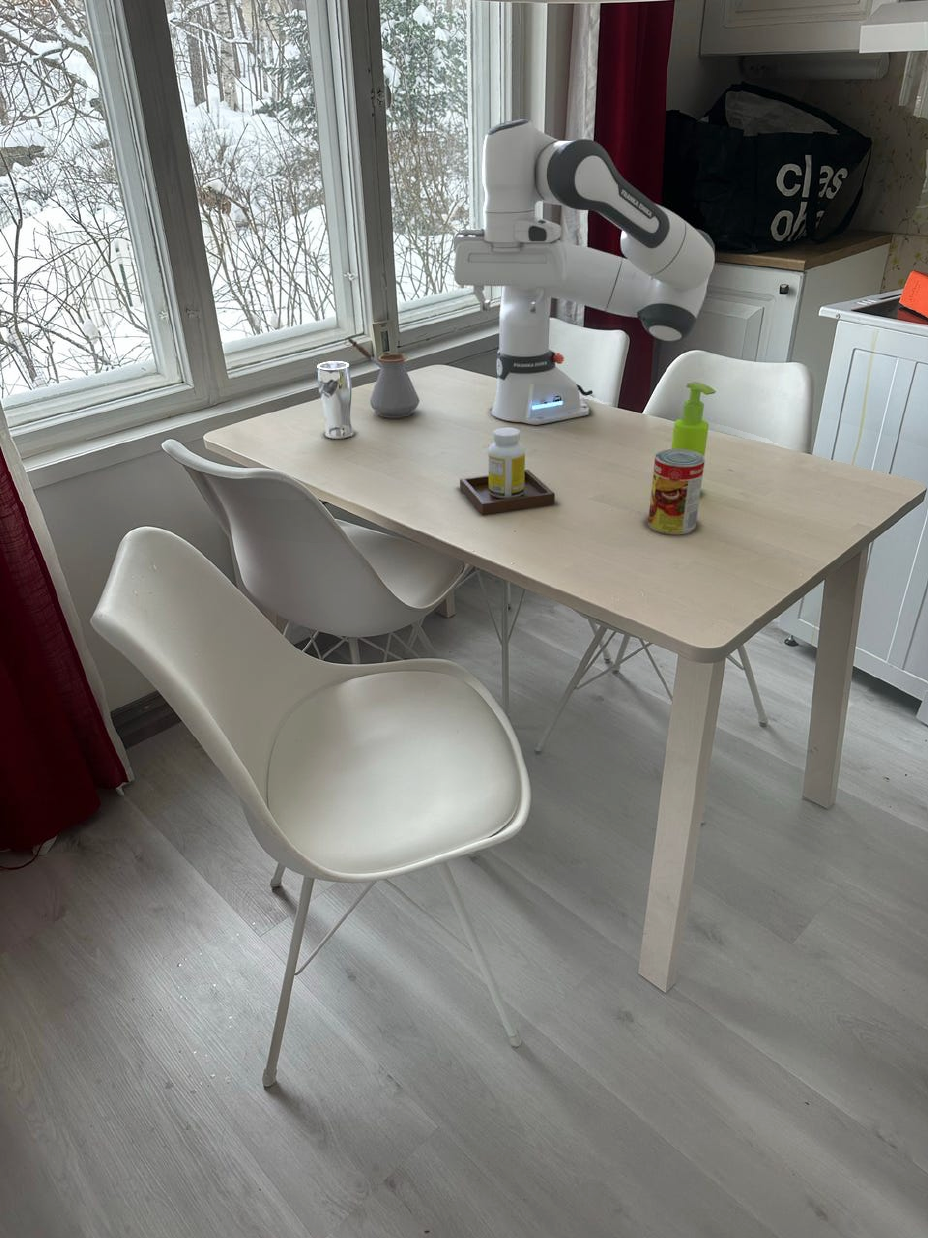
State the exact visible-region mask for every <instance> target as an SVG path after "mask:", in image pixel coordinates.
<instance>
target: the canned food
mask: <svg viewBox="0 0 928 1238" xmlns="http://www.w3.org/2000/svg"><path fill="white" fill-rule="evenodd" d="M705 461H706V457H705V456H703V455H701V454H700V453H697V452H695V451H691V450H685V449H671V448H670V449H669V448H668V449H663V450H660V451H658V452H656V454H654V464H653V471H652V483H651V492H650V502H649V510H648V511H649V512H648V520H647V524H648V527H650V529H652V530H653V531H656V532H659V533H662V534H667V535H685V534H690V533H691V532H693V531H695V529H696V526H697V519H698V511H699V504H700V499H701V489H702V483H703V475H704V469H705Z"/></svg>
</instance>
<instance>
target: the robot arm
mask: <svg viewBox="0 0 928 1238" xmlns="http://www.w3.org/2000/svg"><path fill="white" fill-rule="evenodd" d="M482 153H483V154H482V185H483V188H484V189H483V190H484V193H485V199H484V203H483V204H484V205H483V228H474V229H469V228H462V229H460V231H458V232H457V233H455V234H454V236H453V241H452V242H453V243H452V245H453V251H454V253H455V255H454V265H453V266H454V267H453V281H454V282H455V283H456V284H457V285H458V286H464V287H465V286H468V287H469V286H471V287H472V288H473V294H474V296H475V297H476V299H477V301H478V303H479V311H480V313H489V312H490V311H491V300H487V299H486V297H485V294H484V292H483V291H485V287H501V295H500V306H499V307H500V308H499V318H498V319H499V322H498V323H499V328H498V329H499V335H498V336H499V337H498V339H499V341H498V350H497V356H496V376H497V385H496V392H495V397H494V398H495V399H494V402H493V405H492V408H491V414H492V416H494V417H495V418H497V419H500V420H503V421H508V422H514V423H525V424H528V425H535V426H537V425H543V424H548V423H554V422H559V421H563V420H568V419H573V418H578V417H584V416H587V415H589V414H590V407H589V406H588V405H587V404H586V403H585V402H584V401H583V400H581V398H580V397H581V396H580V394H581V395H582V396H584V397H585V396H586V397H587V396H589V395H592V394H593V390H588V391H585V390H584V389H583V387H582V386H581V385H579V384H577V383H576V381H574V380H573V379H571V378H570V376H568V375H567V374H566V373H565V372H563V371H562V370H561V369H560V368H558V367H557V366H556V364H558V365H561V364H563V362H564V360H565V356H564V355H563V354H561V353H559V352H557V353H556V352H554V351H553V350H550V349H549V347H550V323H551V321H550V320H551V305H552V299H558V300H564V301H567V302H573V303H576V304H580V305H583V306H586V307H589V308H592V309H596V310H599V311H603V312H606V313H609V314H614V315H618V316H623V317H629V318H635V319H636V318H638V320H639V321H640V322H641V325H642V327H643V328H644V330H645V331H646V332H647V333H648V334H649V335H650V336H651V337H653V338H655V339H658V340H660V341H664V342H680V341H683V340H684V339H687V338H688V337H689V336H690V335H691V333H692V331H693V330H694V327H695V325H696V324H697V317H698V316H699V313H700V311H701V308H702V306H703V303H704V301H705V297H706V294H707V287H708V284H709V279H710V276H711V274H712V272H713V270H714V266H715V259H716V257H715V256H716V255H715V254H716V249H715V248H716V245H715V243H714V241H713V239H712V237H710V235H709V234H708V233H706V232H705V231H703V230H701V229H697V228H695V227H694V226H692V225H691V224H690V223H689V222H687V221H686V220H684V219H683V218H682V217H681V216H680V215H678V214H676V213H675V212H674V211H671V210H670V209H668V208H666V207H664V206H662V205H660V204H657V203H655V202H653V201H652V200H651V199H649V198H648V197H647V195H645V194H643V193H642V192H641V191H639V190H638V189H637V188H636V187H634V185H632V184H631V183H629V181H628V180H626V179H625V178H624V177H623V176H622V175H621V174H620V173H619V171H618V170H617V168H616V166H615V165H614V162H613V161H612V159H611V157H610V155H609V153H608V151H606V149H605V148H604V147H603V146H602V145H601V144H600V143H598V142H596V141H595V140H592V139H587V138H580V139H574V140H559V139H557V138H555V137H552V136H550V135H548V134H546V133H544V132H543V131H541V130H539V129H538V128H537V127H535V126H534V124H533V123H532V122H531V121H530V120H529V119H515V120H509V121H505V122H502V123H499V124H498V123H497V124H496V125H494V126H492V127H491V128H489V130H488V131H487V133H486V134H485V139H484V143H483V151H482ZM538 202H542V203H545V204H549V205H554V206H555V205H557V206H562V207H568V208H571V209H573V210H579V211H594V212H596V213H597V214H599V215H601V216H602V217H603V218H604V219H606V220H607V221H609V222H610V223H611V224H613V225H614V226H615V227H617V228H618V229H620V230H621V234H620V235H621V236H620V250H621V253H622V254H623V255H624V257H622V256H618V255H615V254H612V253H609V252H605V251H603V250H599V249H595V248H593V247H588V246H583V245H578V244H572V243H567V242H562V241H561V240H560V238H561V236H562V232H563V231H562V230H563V229H562V226H561V225H560V224H558V223H556V222H552V221H550V220H547V219H544V218H542V217H538V216H536V204H537V203H538Z"/></svg>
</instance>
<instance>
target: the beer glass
mask: <svg viewBox="0 0 928 1238" xmlns="http://www.w3.org/2000/svg"><path fill="white" fill-rule="evenodd" d="M316 367H317V386H318V393H319V397H320V402H321V405H322V409H323V413H324V417H325V418H324V419H325V431H324V435H325V437H326V438H329V439H333V440H342V439H348V438H350V437H352V436H353V435H354V430H353V426H352V422H351V405H352V395H353V394H352V393H353V391H352V390H353V389H352V388H353V387H352V378H351V377H352V376H351V372H350V364H349V363H348V362H345V361H326V362H322V363H319V364H318V365H317V366H316Z"/></svg>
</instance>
